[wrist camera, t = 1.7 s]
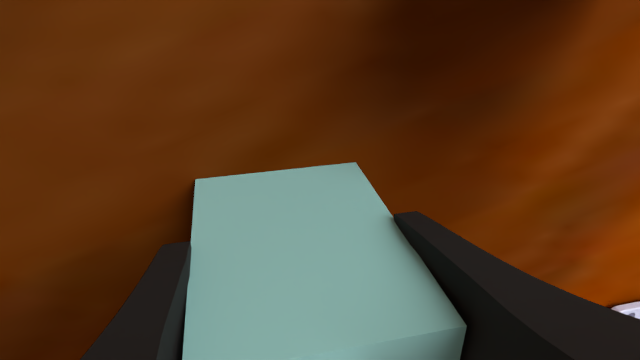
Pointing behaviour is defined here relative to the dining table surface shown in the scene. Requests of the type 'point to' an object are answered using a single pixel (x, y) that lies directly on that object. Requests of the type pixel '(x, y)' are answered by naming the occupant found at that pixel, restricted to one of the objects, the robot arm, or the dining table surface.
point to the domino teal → (309, 273)
